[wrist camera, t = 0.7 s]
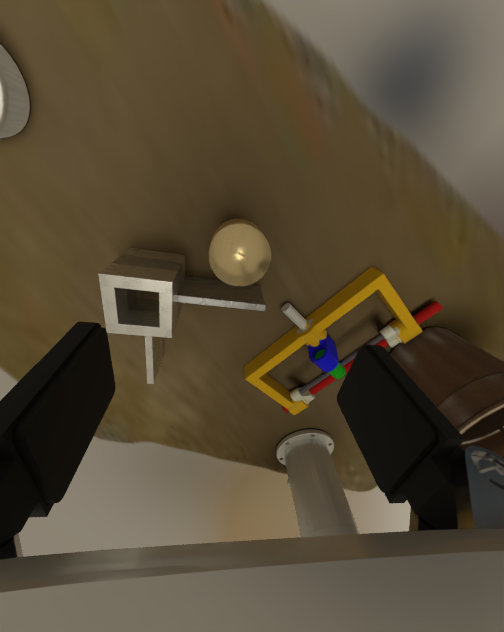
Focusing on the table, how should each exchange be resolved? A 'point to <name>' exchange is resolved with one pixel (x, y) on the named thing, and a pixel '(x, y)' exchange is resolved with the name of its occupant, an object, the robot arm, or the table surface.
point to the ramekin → (12, 97)
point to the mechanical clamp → (323, 346)
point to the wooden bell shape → (239, 253)
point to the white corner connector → (161, 297)
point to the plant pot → (458, 384)
